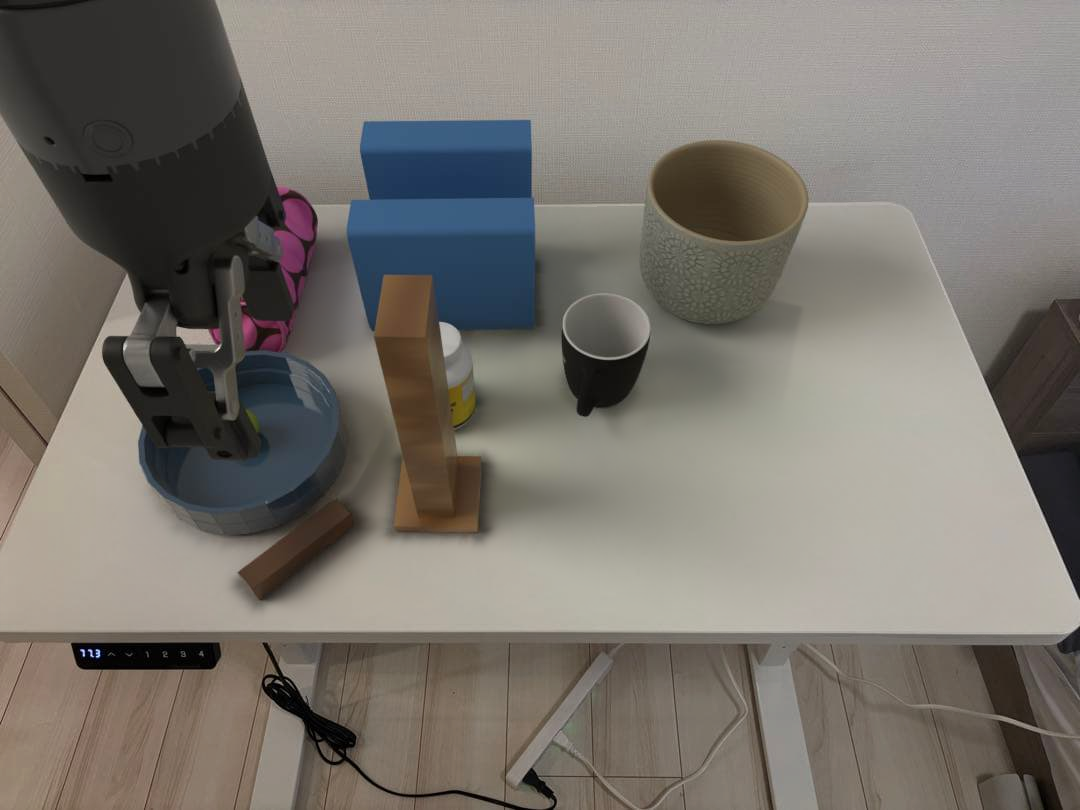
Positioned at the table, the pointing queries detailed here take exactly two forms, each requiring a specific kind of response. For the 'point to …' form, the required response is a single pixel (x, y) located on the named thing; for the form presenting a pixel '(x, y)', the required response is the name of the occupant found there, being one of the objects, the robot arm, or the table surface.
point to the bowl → (284, 457)
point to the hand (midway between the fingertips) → (257, 380)
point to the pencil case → (294, 265)
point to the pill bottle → (458, 375)
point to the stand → (423, 412)
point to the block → (449, 218)
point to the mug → (603, 349)
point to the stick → (296, 548)
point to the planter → (718, 229)
